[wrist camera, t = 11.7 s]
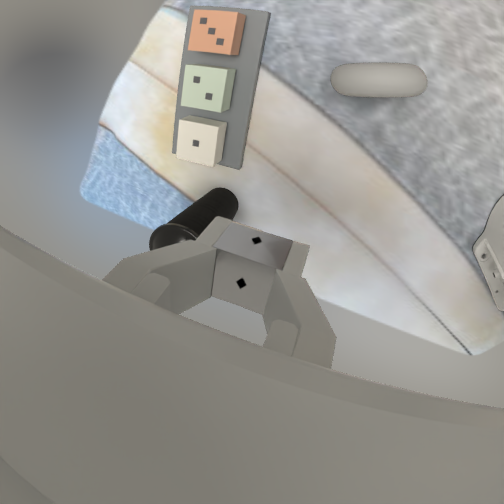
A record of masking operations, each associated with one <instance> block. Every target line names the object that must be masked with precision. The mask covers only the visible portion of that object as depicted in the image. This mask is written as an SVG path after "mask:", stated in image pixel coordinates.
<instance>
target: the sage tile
mask: <svg viewBox="0 0 504 504" xmlns="http://www.w3.org/2000/svg"><path fill="white" fill-rule="evenodd" d="M235 72H236V69H233V68H226V67H219V66H212V65H204V64H186V66H185V73H184V81H183V90H182V98H181V106H186V107H192V108H198V109H204V110H209V111H214V112H219V113H221V112H223V111H226V110H228V109H229V107H230V101H231V95H232V89H233V83H234V77H235Z"/></svg>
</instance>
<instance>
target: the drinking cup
mask: <svg viewBox="0 0 504 504" xmlns="http://www.w3.org/2000/svg"><path fill="white" fill-rule="evenodd" d="M237 209H238V202H237V199H236V197H235V195H234V194H233V193H232V192H231V191H229V190H227V189H225V188H215V189H213V190H211V191H210V192H209V193H207V194H206V195H204V196H203V197H202V198H200V199H199V200H198V201H196V202H195V203H193V204H192V205H191V206H189V207H188V208H187V209H185V210H184V211H183V212H181V213H180V214H179V215H177V216H176V217H175V218H173V219H172V220H171V221H169V222H168V223H167V224H163V225H161V226H159V227H158V228H157V229H155V230H154V232H153V233H152V235H151V237H150V242H149V248H150V251H151V250H155V249H159V248H162V247H166V246H169V245H173V244H176V243H180V242H184V241H187V240H194V241H195V240H196V239H197V238H198V237H199V236H200V235H201V233H202V232H203V231H204V230H205V229H206V228H207V226H208V225H209V224H210V223H211V222H212V221H213V220H214V218H215V217H218V216H220V217H223V218H226V219H230V220H232V219H233V218H234V216H235V214H236V212H237Z"/></svg>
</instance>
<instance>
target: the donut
mask: <svg viewBox="0 0 504 504" xmlns="http://www.w3.org/2000/svg"><path fill="white" fill-rule="evenodd" d="M331 84H332V86H333V88H334V89H335V90H336V91H337V92H338V93H340V94H343V95H345V96H354V97H413V96H418V95H420V94H422V93H423V92H424V91H425V90H426V87H427V77H426V75H425V73H424V71H423V70H422V69H421V68H419V67H418V66H416V65H412V64H406V63H352V64H344V65H340V66H338V67H336V68H335V69H334V70H333V71H332V74H331Z"/></svg>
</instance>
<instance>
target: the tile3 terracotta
mask: <svg viewBox="0 0 504 504" xmlns="http://www.w3.org/2000/svg"><path fill="white" fill-rule="evenodd" d="M245 18H246V15H244V14H241V13H239V12H230V11H217V10H194V15H193V20H192V26H191V32H190V39H189V45H188V50H191V51H202V52H212V53H220V54H228V55H239V49H240V44H241V39H242V33H243V28H244V23H245Z"/></svg>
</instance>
